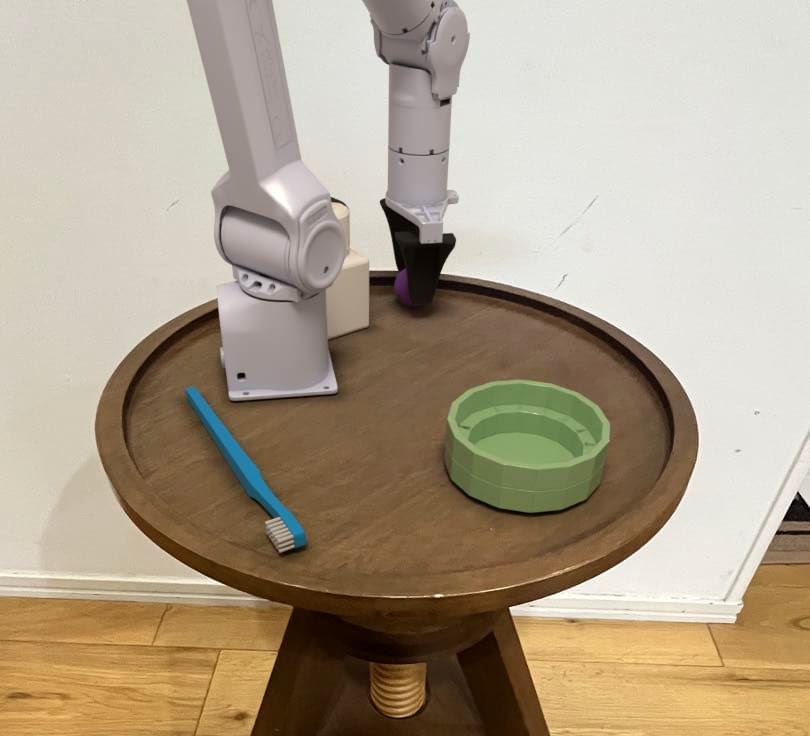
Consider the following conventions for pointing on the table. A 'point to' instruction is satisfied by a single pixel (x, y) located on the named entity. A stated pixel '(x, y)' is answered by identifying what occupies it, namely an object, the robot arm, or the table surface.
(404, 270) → the ball
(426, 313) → the table surface
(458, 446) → the bowl
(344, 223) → the cylinder-topped cream block
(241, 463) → the toothbrush
